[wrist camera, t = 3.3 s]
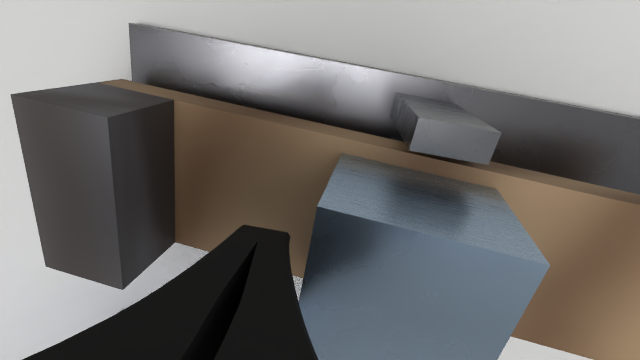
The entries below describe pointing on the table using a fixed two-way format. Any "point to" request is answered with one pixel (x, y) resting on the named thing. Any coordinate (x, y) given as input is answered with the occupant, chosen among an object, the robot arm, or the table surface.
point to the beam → (293, 199)
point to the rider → (414, 267)
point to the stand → (397, 106)
